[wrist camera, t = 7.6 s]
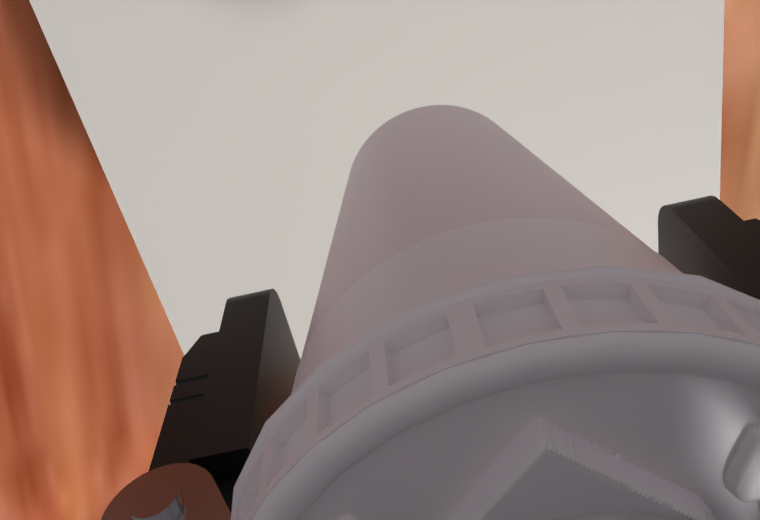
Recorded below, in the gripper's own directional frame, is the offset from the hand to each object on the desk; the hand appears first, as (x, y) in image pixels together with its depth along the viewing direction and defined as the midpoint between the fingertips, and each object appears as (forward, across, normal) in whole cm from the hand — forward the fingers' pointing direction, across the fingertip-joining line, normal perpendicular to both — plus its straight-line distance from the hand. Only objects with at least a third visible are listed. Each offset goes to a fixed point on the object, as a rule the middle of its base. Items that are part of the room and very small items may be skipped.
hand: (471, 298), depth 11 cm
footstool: (+18, 0, 0) cm, 18 cm away
